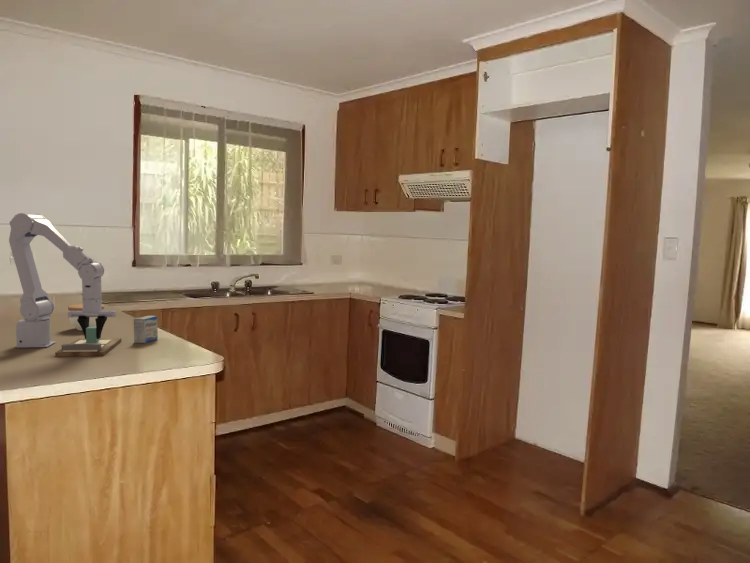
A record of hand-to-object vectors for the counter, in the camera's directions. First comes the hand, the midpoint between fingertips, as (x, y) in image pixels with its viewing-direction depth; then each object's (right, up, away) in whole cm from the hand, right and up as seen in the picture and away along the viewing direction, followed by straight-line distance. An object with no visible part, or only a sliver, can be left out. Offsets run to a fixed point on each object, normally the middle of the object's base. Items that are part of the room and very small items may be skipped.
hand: (92, 338), depth 189 cm
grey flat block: (+2, -2, -8) cm, 9 cm away
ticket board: (0, -3, -2) cm, 4 cm away
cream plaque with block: (0, -2, 0) cm, 2 cm away
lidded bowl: (-18, 0, +32) cm, 37 cm away
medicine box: (+13, -2, +12) cm, 18 cm away
